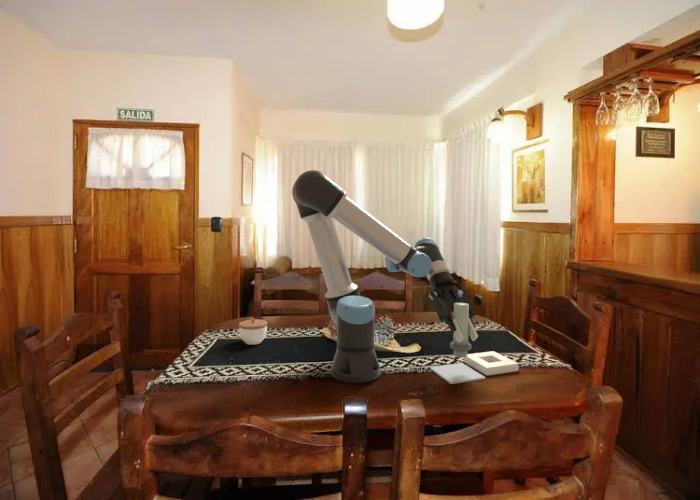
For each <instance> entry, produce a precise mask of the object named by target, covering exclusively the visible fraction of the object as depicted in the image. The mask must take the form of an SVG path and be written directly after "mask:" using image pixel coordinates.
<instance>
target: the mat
mask: <svg viewBox="0 0 700 500" xmlns="http://www.w3.org/2000/svg"><path fill="white" fill-rule="evenodd" d="M429 370H431V371H432V372H433V373H435V374H436V375H437V376H438V377H440V378H441V379H443V380H444V381H446V382H447V383H448V384H450V385H453V384H461V383H468V382H473V381H474V382H476V381H482V380H486V377H485V376H484V374H481V373H480V372H479V371H477V370H475V369H474V368H471V367H469V365H467V364H464V362H459V363H455V364H454V363H452V364H451V363H450V364H445V365H437V366H431V367H429Z"/></svg>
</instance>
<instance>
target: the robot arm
mask: <svg viewBox="0 0 700 500" xmlns="http://www.w3.org/2000/svg"><path fill="white" fill-rule="evenodd" d="M291 193H292V198H293V201H294V203H295V205H296V207H297V211H298V214H299V216H300V217H299V218H300V219H301V220H303V221H304V222H306V224H307V228H308V230H309V234H310V236H311V240H312V244H313V245H314V250H315V252H316V256H317V259H318V262H319V266H320V268H321V273H322V276H323V279H324V281H325V285H326V288H327V289H326V290H327V291H326V292H325V295H324V297H325V300H326V303H327V306H328V314H329V317H330V318H331V320H332V322H333V323H334V324H335V326H336V351H335V353H334V357H333V360H332V363H331V369H330V372H331V376H332V378H334V379H335V380H336V381H340V382H343V383H349V384H365V383H369V382H373V381H375V380H377V379H378V378H379V376H380V374H381V372H380V371H381V368H380V364H379V360H378V358H377V357H378V356H377V353H376V351H375V329H376V328H375V327H376V326H375V324H376V323H375V320H376V319H375V317H376V309H375V303H374V301H373V300H371V298H369V297H365V296H361V293H360V289H359V286H358V284H355V283H353V281H352V278H351V275H350V272H349V268H348V265H347V262H346V258H345V255H344V252H343V249H342V245H341V242H340V241H341V240H340V238H339V235H338V232H337V229H336V226H335V225H336V224H335V221H334V220H336V221H337V222H339V224H341V225H342V226H344V227H345V228H346V229H348V230H349V231H350V232H351V233H353V234H354V235H356V236H358V237H359V238H360V239H362V241H364V242H365V243H367V244H369V245H370V246H371V247H372V248H374V249H375V250H376V251H378V252H379V253H380V254H382V255H383V256H384V262H385V266H386V269H387V271H388V272H389V273H394V272H395V273H398V272H404V273H406V274H409V275H410V276H412V277H413V278H423V277H425V276H426V278H427V279H428V282H429V285H430V286H431V288H432V291H431V292H430V293H429V294H428V296H427V298H428V299H429V301H430V302H431V304H432V305H433V308H434V310H435V312H436V315H437V318H438V319H439V322H441V323H443V322H444V324H445V325H447V326H448V329H449V330H450V331H451V332H452V333H453V335H455V337H456V339H457V342H458V343H460V342H461V341H462V340H463V339H464V337H463V335H462V333H461V330H460V328H459V326H458V324H457V322H456V320H455V319H454V318H453V315H452V310H451V306H450V303H451V305H453V306H454V303H466V304H469V322H468V336H469V337H470V339H471V341H472V342H474V341H475V340H477V338H478V337H479V334H478V333H477V330H476V329H475V328H476V324H475V323H474V320H473V318H474V317H475V316H476V312H475V310H474V307H473V306H472V303H471V301H470V299H469V297H468V293H467V290H466V289H465V288H464V289H462V290H461V289H459V288H458V287H457V286H456V284H455V280H454V278H453V276H452V274H451V272H450V269H449V267H448V266H447V264H446V261H445V259H444V258H443V256H442V253H441V251H440V249H439V246H438V245H437V243H436V242H435V240H434V239H433V238H431V237H424V238H422V239H419V240H418V241H416V242H415V244H414V246H412V245H411V244H410V243H409V242H407V241H406V240H404V239H403V238H402V237H400V235H398V234H397V233H396V232H394V231H392V229H390V228H389V227H388V226H387V225H385V224H384V223H382V222H381V221H379V220H378V219H377V218H375V217H374V216H373V215H372V214H371V213H369V212H367V210H365V209H364V208H362V206H360V205H358V204H357V203H356V202H355V201H353V200H352V199H351V198H349V197H348V195H347V191H346V190H344V189H343V188H342V187H340V186H339V185H338V184H337V183H336V182H335V181H334V180H332V179H331V178H330V177H329V176H328V175H327V174H325V173H323V172H322V171H319V170H315V169H314V170H306V171H304V172H303V173H301V174H300V175H299V176H298V177H297V179H296V180H295V182H294V184H293V185H292V191H291Z"/></svg>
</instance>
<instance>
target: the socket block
mask: <svg viewBox="0 0 700 500" xmlns="http://www.w3.org/2000/svg"><path fill="white" fill-rule="evenodd" d="M463 363H465V365H467V366H470V368H471V367H472V369H474V370H475V371H477V372H479V373H480V374H481V373H482V375H485V376H494V375H499V374H506V373H514V372H518V371H519V363H518V362H516V361H514V360H512V359H511V358H509V357H506V356H505V355H502V354H500V353H499V352H496V351H494V350H492V351H490V350H489V351H484V352H476V353H467V356H466V357H463Z"/></svg>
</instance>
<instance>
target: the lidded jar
mask: <svg viewBox="0 0 700 500" xmlns="http://www.w3.org/2000/svg"><path fill="white" fill-rule="evenodd" d="M238 330H239V331H238V332H239V336H240V339H241V340H242V341H243V342H244V344H246V345H252V346H253V345H259V344H262V341H264V339H265V338H266V336H267V333H268V332H267V331H268V321H267V320H265V319H256V318H251V319H248V320H247V319H246V320H243V321H241V322H239V323H238Z"/></svg>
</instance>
